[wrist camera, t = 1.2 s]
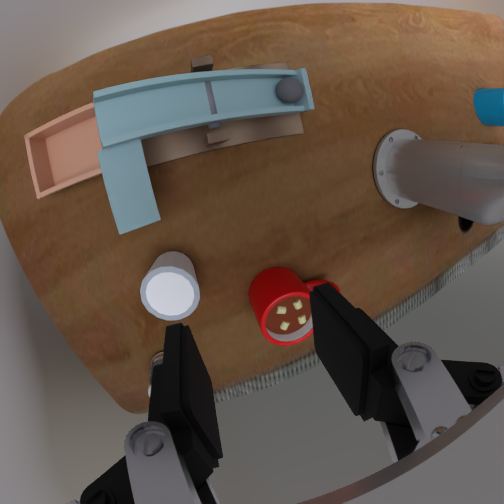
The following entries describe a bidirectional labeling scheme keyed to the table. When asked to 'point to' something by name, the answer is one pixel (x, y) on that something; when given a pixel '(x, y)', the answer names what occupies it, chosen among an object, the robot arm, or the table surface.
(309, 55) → the table surface
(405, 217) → the table surface
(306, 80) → the lever
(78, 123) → the pink open box
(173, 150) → the launcher base
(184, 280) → the white cylinder
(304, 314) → the mug
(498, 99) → the mug
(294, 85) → the ball
